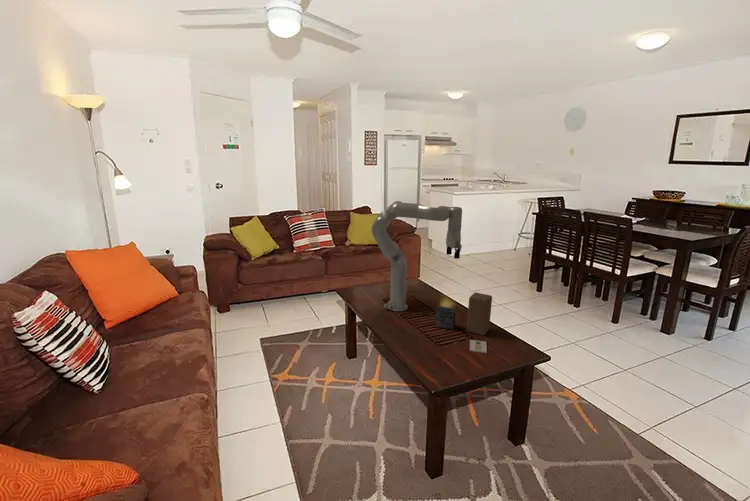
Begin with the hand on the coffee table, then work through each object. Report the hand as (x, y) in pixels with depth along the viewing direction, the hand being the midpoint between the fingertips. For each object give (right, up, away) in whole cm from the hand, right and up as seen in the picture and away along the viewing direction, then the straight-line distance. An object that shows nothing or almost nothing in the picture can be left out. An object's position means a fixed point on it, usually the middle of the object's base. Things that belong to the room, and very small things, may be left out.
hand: (452, 256), depth 229 cm
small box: (-7, -39, -15) cm, 42 cm away
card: (+5, -45, -37) cm, 58 cm away
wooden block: (+10, -40, -19) cm, 46 cm away
